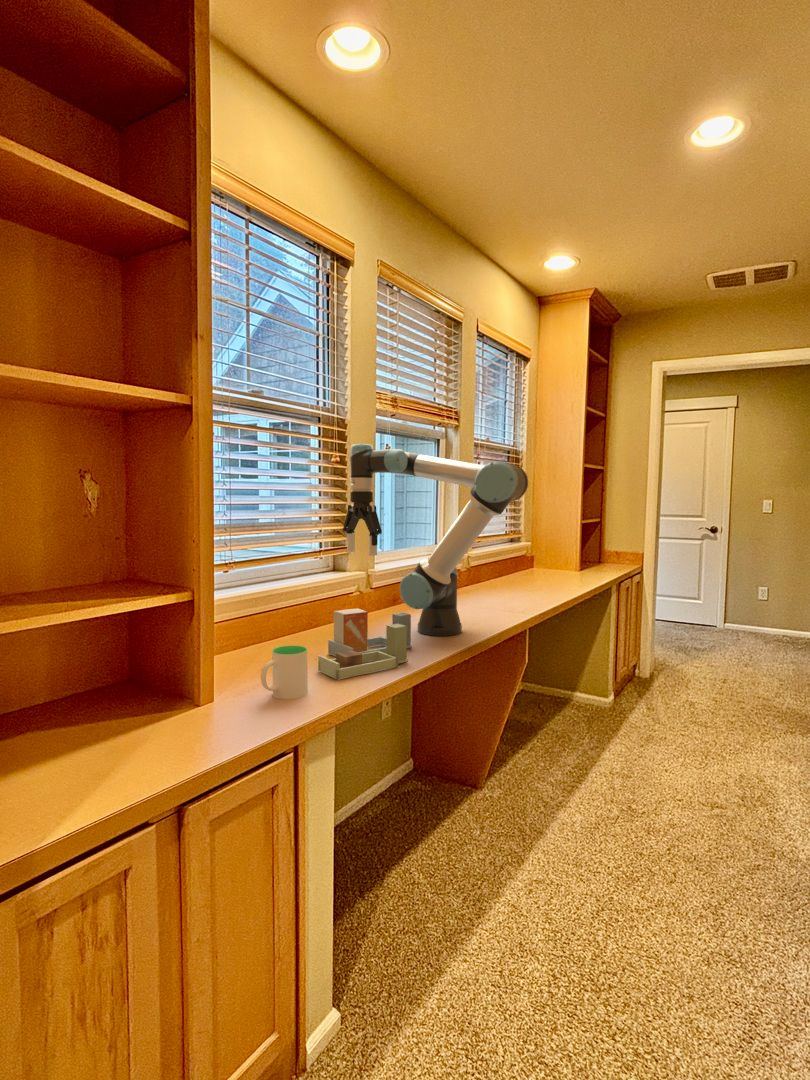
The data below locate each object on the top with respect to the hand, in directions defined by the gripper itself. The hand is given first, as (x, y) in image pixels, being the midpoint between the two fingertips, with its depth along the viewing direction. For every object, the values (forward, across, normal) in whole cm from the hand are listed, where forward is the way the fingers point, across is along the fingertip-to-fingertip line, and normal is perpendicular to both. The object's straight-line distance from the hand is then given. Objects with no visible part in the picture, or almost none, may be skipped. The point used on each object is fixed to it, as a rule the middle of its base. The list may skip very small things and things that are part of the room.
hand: (361, 553), depth 202 cm
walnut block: (+27, +37, -28) cm, 54 cm away
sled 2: (+26, +37, -22) cm, 51 cm away
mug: (+27, +44, -50) cm, 72 cm away
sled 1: (+26, +25, -12) cm, 38 cm away
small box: (+27, +23, -19) cm, 40 cm away
